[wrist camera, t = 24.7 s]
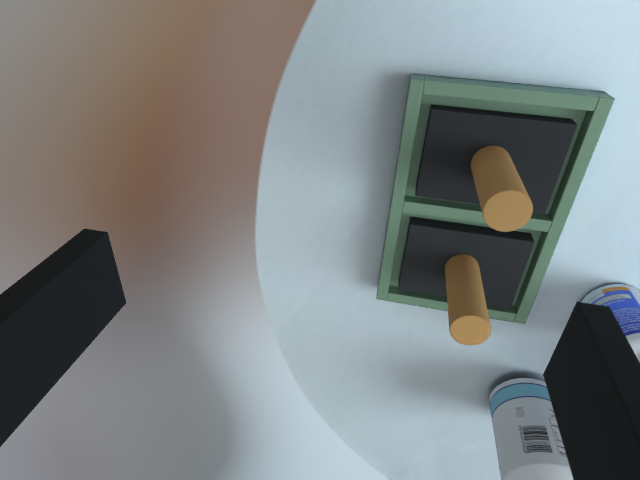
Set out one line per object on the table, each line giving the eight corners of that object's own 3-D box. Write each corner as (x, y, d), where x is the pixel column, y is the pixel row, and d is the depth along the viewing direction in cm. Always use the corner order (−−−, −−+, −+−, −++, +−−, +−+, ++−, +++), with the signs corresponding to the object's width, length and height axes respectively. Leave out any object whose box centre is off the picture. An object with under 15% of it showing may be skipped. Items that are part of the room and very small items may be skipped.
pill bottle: (565, 318, 41) (601, 403, 33) (599, 273, 38) (647, 355, 30) (622, 336, 41) (672, 426, 33) (660, 293, 38) (726, 380, 30)
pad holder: (411, 73, 33) (410, 78, 31) (605, 91, 31) (615, 98, 29) (378, 286, 44) (376, 299, 42) (521, 310, 42) (525, 324, 40)
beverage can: (477, 403, 49) (491, 514, 39) (504, 362, 45) (527, 473, 35) (539, 422, 49) (569, 539, 38) (571, 382, 45) (613, 500, 35)
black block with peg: (410, 216, 38) (407, 280, 30) (531, 232, 37) (561, 304, 29) (398, 280, 42) (392, 353, 34) (507, 298, 40) (528, 378, 32)
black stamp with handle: (431, 103, 33) (433, 145, 25) (572, 118, 32) (622, 167, 24) (415, 188, 37) (413, 248, 29) (541, 205, 35) (575, 272, 27)
